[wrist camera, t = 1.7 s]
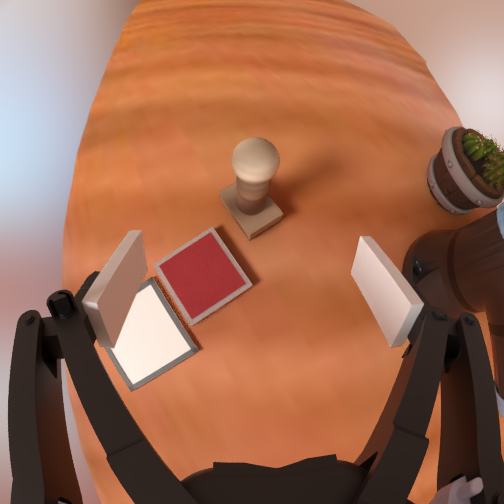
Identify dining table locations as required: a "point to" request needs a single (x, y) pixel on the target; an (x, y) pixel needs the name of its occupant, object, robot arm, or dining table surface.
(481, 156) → the flowerpot
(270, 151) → the stamp
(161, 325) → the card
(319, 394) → the dining table surface
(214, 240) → the ink pad
